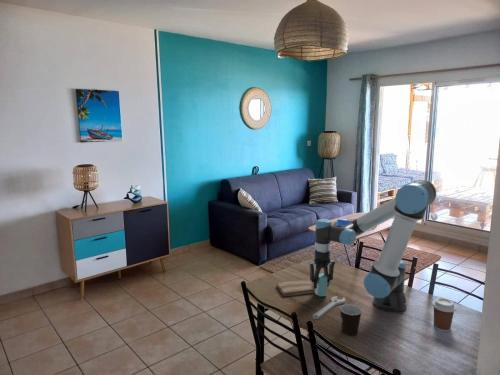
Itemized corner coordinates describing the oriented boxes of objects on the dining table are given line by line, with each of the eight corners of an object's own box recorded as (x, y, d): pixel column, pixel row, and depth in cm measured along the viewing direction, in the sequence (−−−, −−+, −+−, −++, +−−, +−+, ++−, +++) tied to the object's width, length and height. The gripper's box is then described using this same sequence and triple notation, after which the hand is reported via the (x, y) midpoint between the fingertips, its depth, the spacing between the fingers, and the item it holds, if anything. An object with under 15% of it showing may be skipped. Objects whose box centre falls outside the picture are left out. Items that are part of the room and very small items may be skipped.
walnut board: (317, 292, 189) (317, 288, 189) (284, 296, 185) (284, 292, 185) (308, 282, 201) (308, 279, 200) (276, 286, 197) (277, 282, 196)
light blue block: (326, 295, 184) (327, 277, 182) (319, 296, 183) (319, 278, 181) (317, 286, 195) (318, 268, 193) (310, 287, 194) (311, 269, 192)
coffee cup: (441, 319, 163) (443, 294, 161) (459, 330, 155) (461, 304, 152) (425, 323, 160) (427, 298, 158) (442, 335, 152) (445, 308, 149)
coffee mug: (357, 339, 149) (358, 317, 147) (336, 333, 153) (337, 311, 152) (364, 326, 159) (365, 304, 157) (345, 320, 163) (346, 299, 161)
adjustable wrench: (316, 321, 164) (316, 317, 163) (305, 315, 168) (305, 312, 168) (347, 301, 180) (347, 298, 180) (336, 297, 185) (336, 294, 185)
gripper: (334, 246, 187) (332, 288, 192) (303, 248, 183) (302, 291, 188) (341, 251, 180) (339, 294, 185) (309, 254, 176) (307, 298, 181)
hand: (320, 293), depth 186 cm, fingers closed on light blue block, 4 cm apart
